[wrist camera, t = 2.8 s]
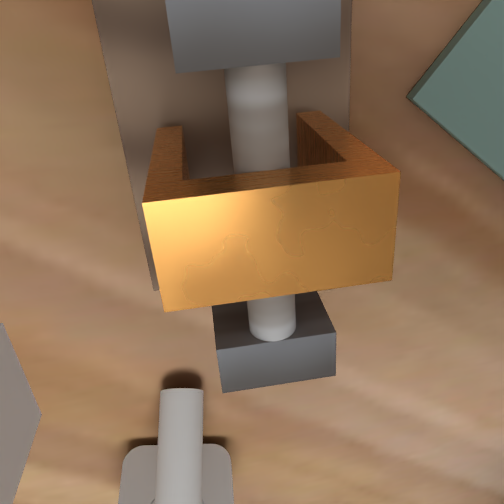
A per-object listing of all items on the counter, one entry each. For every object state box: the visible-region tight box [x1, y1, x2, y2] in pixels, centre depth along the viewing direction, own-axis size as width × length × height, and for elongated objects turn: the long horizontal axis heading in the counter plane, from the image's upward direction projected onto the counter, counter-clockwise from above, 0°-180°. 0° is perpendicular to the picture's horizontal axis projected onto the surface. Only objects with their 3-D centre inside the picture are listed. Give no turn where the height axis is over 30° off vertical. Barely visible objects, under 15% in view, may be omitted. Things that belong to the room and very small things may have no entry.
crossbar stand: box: [92, 0, 352, 393], centre depth 21 cm, size 16×12×11 cm
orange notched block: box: [142, 110, 401, 312], centre depth 19 cm, size 4×8×10 cm, turn 95°
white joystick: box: [118, 388, 234, 504], centre depth 32 cm, size 8×10×10 cm
